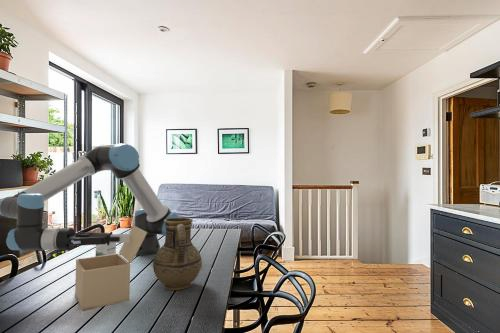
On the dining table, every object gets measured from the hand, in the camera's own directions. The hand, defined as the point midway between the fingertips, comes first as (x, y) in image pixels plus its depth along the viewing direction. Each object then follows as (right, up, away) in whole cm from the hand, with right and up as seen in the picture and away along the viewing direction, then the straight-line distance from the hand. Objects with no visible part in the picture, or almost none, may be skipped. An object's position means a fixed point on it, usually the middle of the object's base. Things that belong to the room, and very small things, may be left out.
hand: (130, 238), depth 112 cm
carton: (-7, -19, -6) cm, 21 cm away
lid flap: (+1, -2, 0) cm, 2 cm away
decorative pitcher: (+16, -19, +5) cm, 26 cm away
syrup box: (-17, -19, +18) cm, 31 cm away
